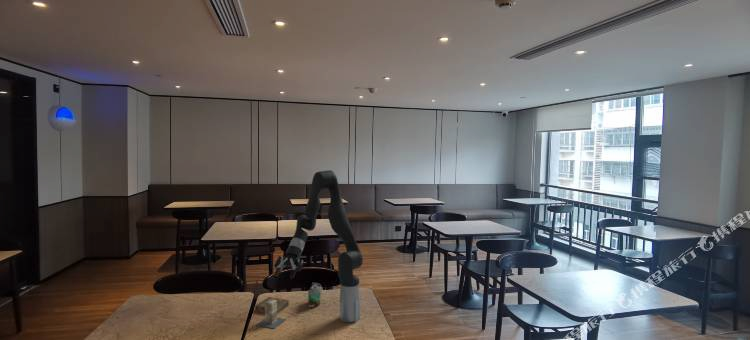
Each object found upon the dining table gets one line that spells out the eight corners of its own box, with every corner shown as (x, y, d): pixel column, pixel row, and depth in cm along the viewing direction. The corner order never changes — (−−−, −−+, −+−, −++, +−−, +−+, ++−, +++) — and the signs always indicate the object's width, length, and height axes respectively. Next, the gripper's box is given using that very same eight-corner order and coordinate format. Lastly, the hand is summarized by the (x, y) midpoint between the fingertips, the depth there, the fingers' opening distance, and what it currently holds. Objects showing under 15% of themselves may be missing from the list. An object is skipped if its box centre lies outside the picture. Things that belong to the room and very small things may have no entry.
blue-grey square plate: (286, 319, 183) (286, 319, 183) (274, 329, 174) (274, 328, 174) (268, 316, 187) (268, 315, 187) (255, 325, 177) (255, 324, 177)
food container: (319, 309, 195) (319, 290, 195) (308, 309, 195) (308, 290, 195) (323, 300, 208) (323, 282, 207) (312, 300, 208) (312, 282, 207)
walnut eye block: (288, 305, 200) (288, 299, 200) (275, 314, 189) (275, 308, 189) (269, 302, 204) (269, 296, 204) (255, 311, 193) (255, 305, 193)
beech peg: (277, 320, 182) (277, 300, 181) (272, 324, 178) (272, 303, 177) (269, 319, 183) (269, 299, 182) (264, 323, 179) (264, 302, 178)
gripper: (280, 243, 199) (268, 271, 189) (304, 246, 194) (293, 275, 184) (286, 251, 204) (274, 278, 194) (310, 253, 200) (298, 282, 190)
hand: (283, 277), depth 189 cm, fingers open, 8 cm apart
